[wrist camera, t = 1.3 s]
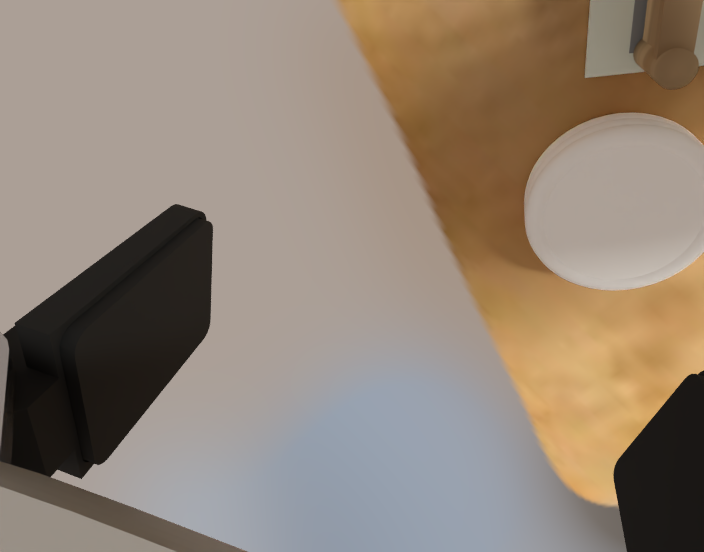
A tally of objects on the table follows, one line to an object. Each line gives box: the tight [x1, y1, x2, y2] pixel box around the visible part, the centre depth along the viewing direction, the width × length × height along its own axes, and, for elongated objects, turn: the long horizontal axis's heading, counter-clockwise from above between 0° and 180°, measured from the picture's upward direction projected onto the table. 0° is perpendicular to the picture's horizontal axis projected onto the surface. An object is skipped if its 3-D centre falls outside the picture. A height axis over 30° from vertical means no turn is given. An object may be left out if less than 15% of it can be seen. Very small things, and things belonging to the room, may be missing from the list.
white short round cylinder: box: [524, 112, 704, 291], centre depth 29 cm, size 10×10×4 cm
